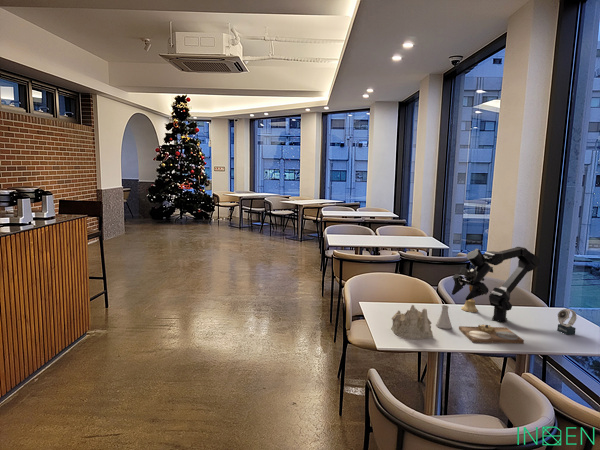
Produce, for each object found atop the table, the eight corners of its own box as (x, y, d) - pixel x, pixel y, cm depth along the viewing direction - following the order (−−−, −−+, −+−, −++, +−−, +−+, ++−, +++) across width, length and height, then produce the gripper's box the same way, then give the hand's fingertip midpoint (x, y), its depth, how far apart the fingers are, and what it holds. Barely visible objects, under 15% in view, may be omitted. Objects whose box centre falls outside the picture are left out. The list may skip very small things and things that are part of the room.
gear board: (458, 329, 194) (459, 321, 193) (506, 330, 194) (506, 322, 194) (472, 342, 179) (473, 334, 179) (523, 343, 179) (524, 335, 179)
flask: (453, 330, 193) (454, 309, 192) (436, 328, 194) (438, 307, 193) (450, 324, 200) (452, 304, 199) (434, 323, 201) (436, 303, 200)
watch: (553, 330, 196) (556, 307, 194) (568, 329, 198) (570, 307, 196) (563, 335, 190) (566, 311, 189) (578, 334, 192) (581, 311, 191)
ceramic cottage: (437, 338, 182) (437, 304, 181) (402, 341, 179) (402, 307, 178) (420, 327, 197) (419, 296, 196) (387, 330, 194) (387, 298, 193)
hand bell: (475, 308, 227) (478, 279, 225) (479, 313, 219) (482, 283, 217) (459, 306, 228) (461, 278, 226) (463, 311, 220) (465, 282, 218)
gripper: (456, 257, 207) (437, 281, 204) (485, 266, 189) (464, 291, 187) (468, 272, 210) (448, 295, 208) (497, 281, 193) (477, 307, 191)
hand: (459, 297), depth 198 cm, fingers open, 9 cm apart
